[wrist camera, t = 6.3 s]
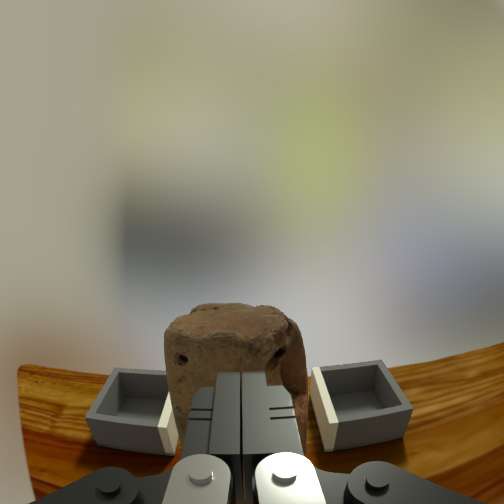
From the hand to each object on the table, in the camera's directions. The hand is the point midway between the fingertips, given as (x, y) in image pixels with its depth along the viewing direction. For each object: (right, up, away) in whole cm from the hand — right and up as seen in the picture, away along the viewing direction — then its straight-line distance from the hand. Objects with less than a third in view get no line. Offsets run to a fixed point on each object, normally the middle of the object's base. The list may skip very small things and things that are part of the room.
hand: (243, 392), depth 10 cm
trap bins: (0, -17, +26) cm, 31 cm away
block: (0, -19, +17) cm, 26 cm away
